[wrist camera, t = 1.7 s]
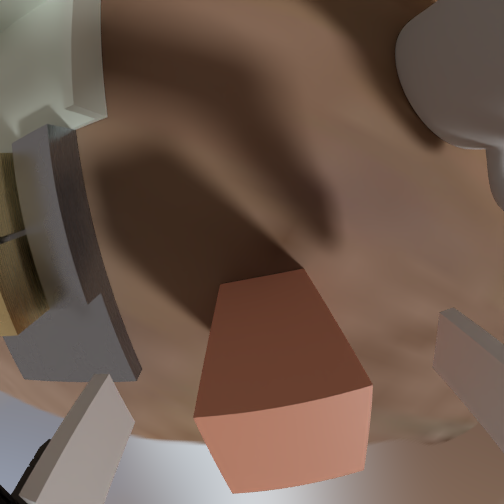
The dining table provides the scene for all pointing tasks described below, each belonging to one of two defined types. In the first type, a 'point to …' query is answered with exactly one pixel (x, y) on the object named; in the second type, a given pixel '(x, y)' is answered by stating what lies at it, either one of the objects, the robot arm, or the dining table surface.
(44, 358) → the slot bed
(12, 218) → the chip
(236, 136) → the dining table surface
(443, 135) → the mug
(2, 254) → the chip
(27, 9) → the tray
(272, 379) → the salmon pink flat-faced block
